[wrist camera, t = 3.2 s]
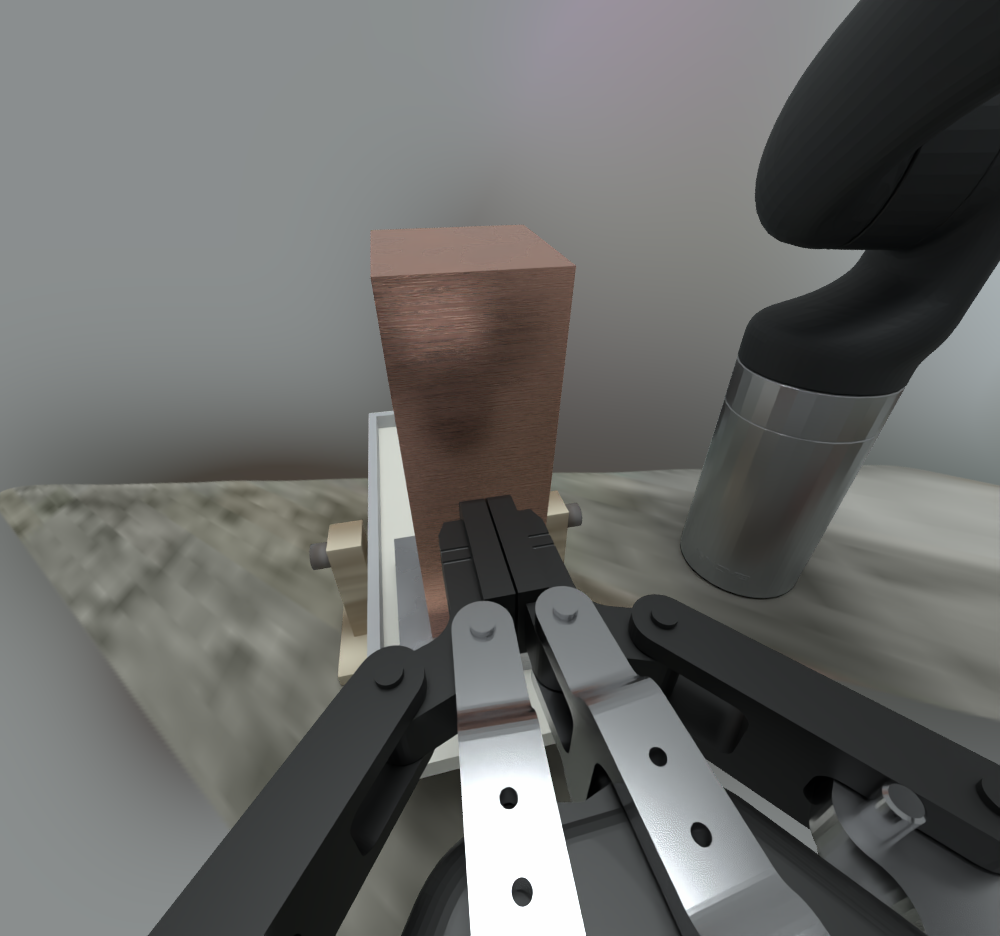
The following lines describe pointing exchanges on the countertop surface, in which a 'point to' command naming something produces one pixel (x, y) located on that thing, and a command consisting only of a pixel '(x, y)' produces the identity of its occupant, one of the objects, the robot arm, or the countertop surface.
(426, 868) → the countertop surface
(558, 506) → the pivot stand
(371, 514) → the beam
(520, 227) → the block
